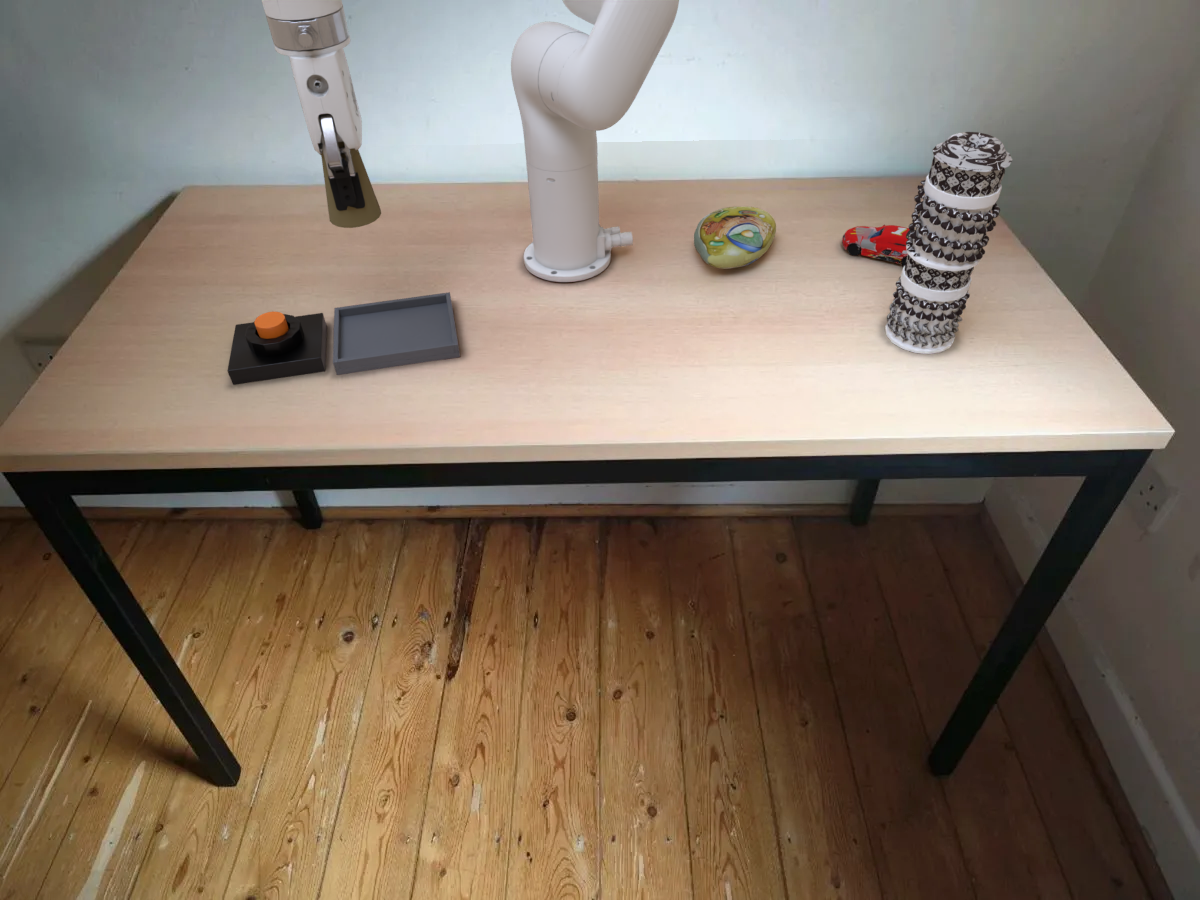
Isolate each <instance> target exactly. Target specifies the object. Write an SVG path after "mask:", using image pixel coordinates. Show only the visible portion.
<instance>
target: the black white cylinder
mask: <svg viewBox="0 0 1200 900" xmlns="http://www.w3.org/2000/svg"><path fill="white" fill-rule="evenodd" d="M932 154H933V158H932V161H931V166H930V168H929V172H928V174H927V175H926V177H925V179H924V180H923V179H922V180H921V181H920V184H921V185H920V184H918V185H917V188H916V189H917V194H916V195H915V196H914V199H913V200H914V202H915V205H914V210H913V212H912V213H911V219H912V220H911V223H910V224H909V225H908V228H909V230H910V231H911V232H910V233H909V240H907V241H906V249H907V254H908V256H907V260H906V264H905V266H903V267H902V270H901V274H900V276H899V277H898V280H896V282H895V286H896V290H895V291H894V292H893V293H892V297H893V300H892V302H891V303H890V304H889V306H888V307H889V308H888V309H889V313H887V315H886V320H887V323H886V324H885V326H884V330H885V336H886V337H887V339H889V341H890V342H891V343H892V344H893V345H895V346H896V347H898V348H900V349H902V350H905V351H908V352H911V353H914V354H922V355H923V354H924V355H933V354H939V353H943V352H945V351H947V350H948V349H950V348H951V347H952V345H953V344H954V342H955V340H956V339H955V337H956V334H955V333H958V332H959V330H960V329H959V326H960V323H961V322H962V321H963V317H961V316H962V315H963V313H964V310H965V309H967V305H966V304H967V300H968V299H969V298H970V296H971V295H970V293H969V289H970V286H971V283H972V277H971V276H972V274H973V272H974V268H975V267H976V266H978V265H979V263H980V262H981V260H982V258H983V256H984V255H985V254H986V250H985V249H984V247H986V246H987V245H988V243H989V241H990V237H989V235H987V233H988V232H992V231H993V230H994V229H995V227H996V226H997V222H996V221H995V220H994V219H996V218H998V217H999V215H1000V212H1001V207H999V206H998V203H996V202H998V200H999V197H1000V195H1001V191H1002V188H1003V185H1002V181H1003V178H1004V176H1005V175H1006V168H1008V167H1010V165H1011V164H1012V162H1013V158H1012V155H1011V153H1010V152H1008V151H1007V150H1006V147H1005V146H1004V143H1003V141H1002V140H1000V139H999V138H997V137H996V136H993V135H991V134H988V133H983V132H979V131H963V132H957V133H954V134H952V135H949V136H948V137H947V138H946V139H945V140H944V141H942V142H940V143H936V145H935V146H934V147H933V148H932Z"/></svg>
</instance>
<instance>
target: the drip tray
mask: <svg viewBox="0 0 1200 900" xmlns="http://www.w3.org/2000/svg"><path fill="white" fill-rule="evenodd" d="M333 310H334V311H333V313H334V314H333V346H332V347H333V349H332V364H333V368H334V370H335V374H336V376H340V375H347V374H353V373H355V374H356V373H360V372H368V371H374V370H382V369H388V368H394V367H401V366H409V365H415V364H423V363H429V362H435V361H442V360H448V359H449V360H450V359H456V358H457V359H458V358H461V353H460V347H459V346H460V345H459V340H458V334H457V333H458V332H457V327H456V322H455V315H454V314H455V313H454V308H453V302H452V297H451V292H450V291H449V292H448V291H447V292H442V293H433V294H426V295H419V296H412V297H404V298H397V299H396V298H395V299H390V300H382V301H375V302H374V301H373V302H368V303H360V304H354V305H346V306H337V307H334V309H333Z"/></svg>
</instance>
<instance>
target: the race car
mask: <svg viewBox="0 0 1200 900" xmlns="http://www.w3.org/2000/svg"><path fill="white" fill-rule="evenodd" d="M910 232H911V231H910V230H909V227H906V226H900V225H894V224H888V225H887V224H883V225H882V226H866V225H862V226H859V225H858V226H853V227H851V228H848V229H847V230H846V231H845V232H844V234H843V235H842V238H841V244H842V245H841V246H842V248H843V249H844V250H845V251H847V253H849V255H850V256H853V257H856V256H859V255H861V256H864V257H867V258H868V257H869V258H873V259H876V260H881V261H885V262H889V263H894V264H897V265H901V264H902V266H903V267H904V266H905V264H906V260H907V256H908V254H907V249H906V241H907V240H909V233H910Z"/></svg>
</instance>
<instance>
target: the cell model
mask: <svg viewBox="0 0 1200 900" xmlns="http://www.w3.org/2000/svg"><path fill="white" fill-rule="evenodd" d="M695 228H696V229H695V231H694V233H693V244H694V247H695V250H696V252H697V253H698V254H699V255H700V257H701V259H702V260H703V261H704V263H706V264H707V265H709V266H710V267H713V268H717V269H726V270H727V269H735V268H742V267H745V266H749V265H750V264H752V263H755V262H756V261H757V260H758V259H760V258H761V257H763V255H764V254H766V252H767V251H768V250H769V248H770V247H771V246H772V244H773V241H774V238H775V235H776V234H777V223H776V220H775V218H774V217H773V215H772V214H771V213H770V212H768V211H766V210H764V209H761V208H759V207H755V206H729V207H724V208H720V209H716V210H714V211H712V212H710V213H708V214H706V215H705V216H703V217H702V218H701V219H700V221H699V222H698V224H697V226H696V227H695Z"/></svg>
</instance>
